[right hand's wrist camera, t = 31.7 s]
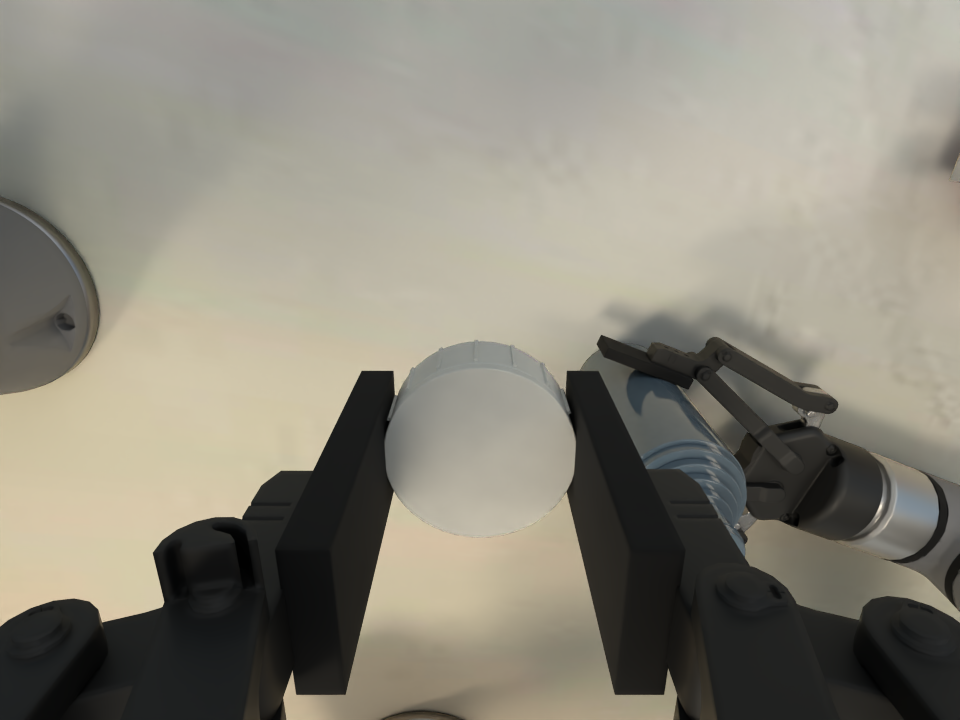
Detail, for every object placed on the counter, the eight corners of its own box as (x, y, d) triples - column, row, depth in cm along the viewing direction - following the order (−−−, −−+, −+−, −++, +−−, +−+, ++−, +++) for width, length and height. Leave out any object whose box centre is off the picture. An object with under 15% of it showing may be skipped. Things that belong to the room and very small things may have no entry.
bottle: (602, 328, 48) (688, 471, 28) (682, 363, 49) (821, 524, 29) (561, 405, 50) (613, 587, 30) (638, 437, 51) (738, 632, 32)
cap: (549, 506, 16) (557, 550, 14) (384, 485, 15) (373, 526, 14) (585, 353, 14) (598, 382, 12) (402, 326, 14) (392, 353, 12)
